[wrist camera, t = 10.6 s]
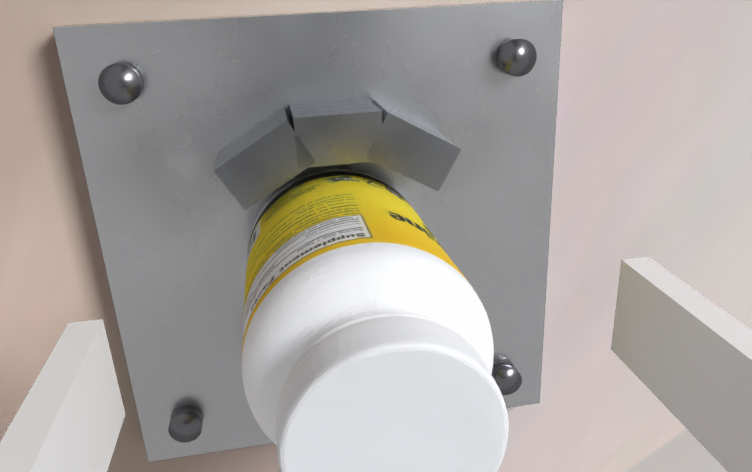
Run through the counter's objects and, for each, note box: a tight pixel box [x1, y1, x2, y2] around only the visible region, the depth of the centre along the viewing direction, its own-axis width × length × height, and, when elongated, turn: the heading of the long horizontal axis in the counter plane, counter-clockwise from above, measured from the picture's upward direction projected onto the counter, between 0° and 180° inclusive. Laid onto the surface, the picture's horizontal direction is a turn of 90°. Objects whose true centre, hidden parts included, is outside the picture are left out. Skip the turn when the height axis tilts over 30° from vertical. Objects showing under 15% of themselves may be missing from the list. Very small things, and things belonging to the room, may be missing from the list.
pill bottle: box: [242, 169, 509, 472], centre depth 17 cm, size 6×6×11 cm
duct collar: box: [52, 0, 563, 462], centre depth 22 cm, size 16×16×4 cm
